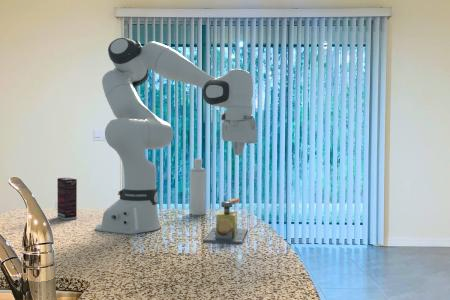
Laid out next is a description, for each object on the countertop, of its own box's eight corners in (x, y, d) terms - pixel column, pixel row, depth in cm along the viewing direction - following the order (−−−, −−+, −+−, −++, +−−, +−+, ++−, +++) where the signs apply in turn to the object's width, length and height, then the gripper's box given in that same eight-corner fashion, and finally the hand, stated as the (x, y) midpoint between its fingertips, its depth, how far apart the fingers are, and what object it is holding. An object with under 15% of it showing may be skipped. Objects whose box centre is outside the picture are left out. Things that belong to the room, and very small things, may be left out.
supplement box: (77, 219, 153) (77, 178, 152) (64, 220, 150) (64, 179, 149) (69, 215, 159) (68, 177, 159) (56, 217, 156) (56, 178, 155)
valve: (203, 242, 120) (203, 211, 119) (213, 229, 136) (213, 202, 136) (241, 244, 118) (242, 212, 117) (247, 231, 134) (247, 203, 134)
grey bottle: (187, 214, 164) (187, 155, 163) (195, 211, 170) (195, 154, 169) (200, 215, 161) (200, 155, 160) (208, 213, 167) (208, 155, 166)
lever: (230, 207, 124) (230, 203, 124) (219, 206, 126) (219, 202, 126) (241, 202, 135) (241, 198, 135) (232, 201, 136) (232, 197, 136)
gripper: (262, 115, 128) (261, 157, 129) (234, 116, 146) (232, 153, 147) (246, 115, 125) (244, 157, 126) (219, 115, 143) (217, 153, 144)
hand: (238, 155), depth 137 cm, fingers closed
